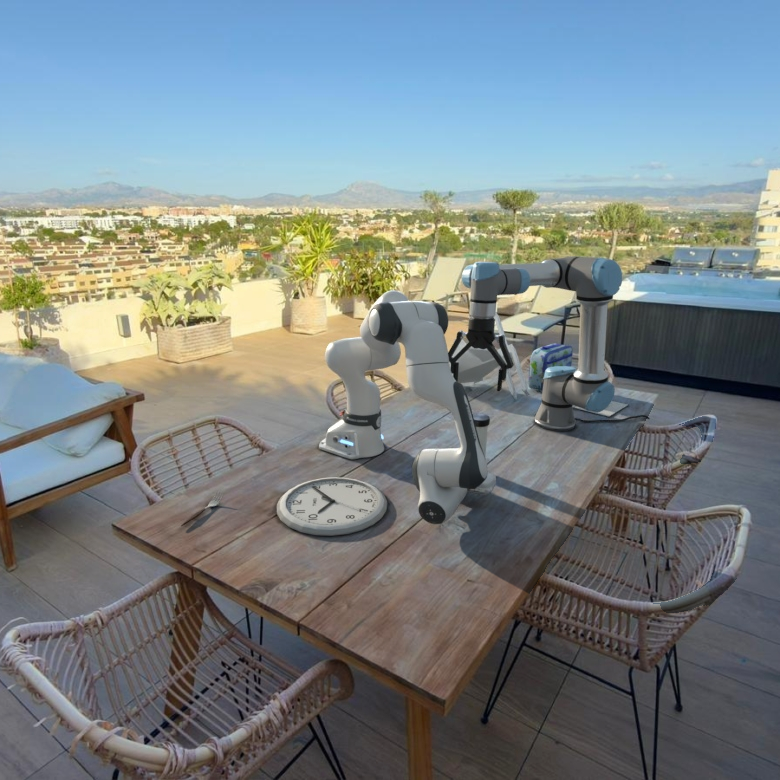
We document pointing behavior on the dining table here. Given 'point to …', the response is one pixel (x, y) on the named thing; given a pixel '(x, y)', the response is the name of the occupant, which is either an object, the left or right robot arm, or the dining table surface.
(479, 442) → the left robot arm
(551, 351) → the lunch box
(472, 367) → the white plastic object
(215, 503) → the fork
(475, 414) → the lid
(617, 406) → the invitation card
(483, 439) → the white cylindrical tube
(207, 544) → the dining table surface
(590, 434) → the dining table surface
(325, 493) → the wall clock
